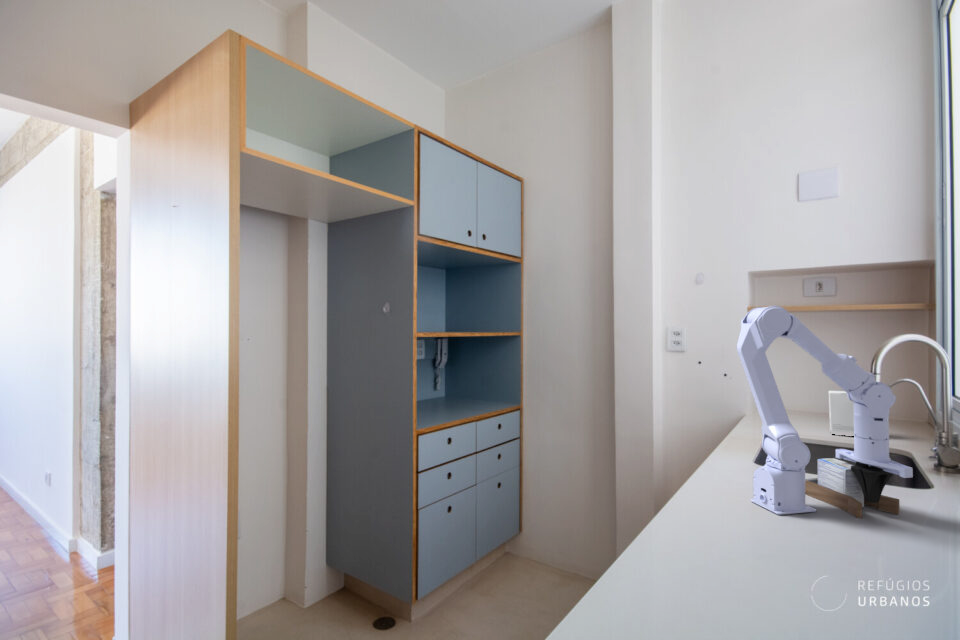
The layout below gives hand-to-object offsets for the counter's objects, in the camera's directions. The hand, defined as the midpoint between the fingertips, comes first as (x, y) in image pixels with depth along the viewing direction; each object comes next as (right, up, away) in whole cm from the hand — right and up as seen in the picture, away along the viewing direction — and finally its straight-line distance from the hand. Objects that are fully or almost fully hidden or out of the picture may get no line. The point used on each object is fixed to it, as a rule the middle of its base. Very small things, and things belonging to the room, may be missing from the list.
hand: (871, 501), depth 99 cm
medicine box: (-2, -3, +6) cm, 7 cm away
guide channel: (-1, -2, +6) cm, 6 cm away
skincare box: (+48, -3, +69) cm, 84 cm away
